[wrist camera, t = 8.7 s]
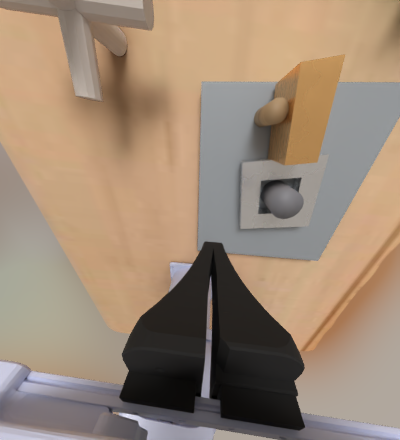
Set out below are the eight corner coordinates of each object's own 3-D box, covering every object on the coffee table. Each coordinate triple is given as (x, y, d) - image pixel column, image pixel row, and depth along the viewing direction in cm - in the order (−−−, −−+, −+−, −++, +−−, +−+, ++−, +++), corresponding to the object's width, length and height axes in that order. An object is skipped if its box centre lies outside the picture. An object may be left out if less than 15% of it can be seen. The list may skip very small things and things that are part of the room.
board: (313, 255, 23) (335, 282, 19) (198, 245, 24) (194, 269, 20) (403, 86, 13) (493, 62, 9) (202, 85, 15) (196, 64, 10)
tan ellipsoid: (269, 127, 15) (285, 124, 11) (252, 126, 15) (263, 123, 11) (273, 107, 14) (292, 97, 10) (255, 106, 14) (268, 97, 11)
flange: (303, 221, 19) (326, 243, 15) (239, 224, 20) (244, 245, 16) (342, 73, 12) (401, 44, 8) (242, 89, 13) (253, 70, 9)
